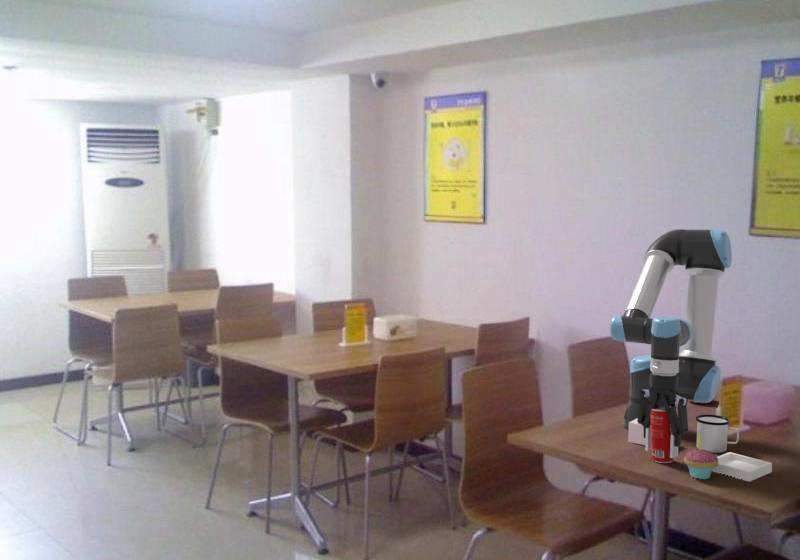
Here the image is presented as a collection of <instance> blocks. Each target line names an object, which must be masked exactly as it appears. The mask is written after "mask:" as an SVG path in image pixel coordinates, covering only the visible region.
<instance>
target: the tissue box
mask: <svg viewBox="0 0 800 560" xmlns="http://www.w3.org/2000/svg"><path fill="white" fill-rule="evenodd" d="M637 421H638V418H637V419H635V420H633V421H631V422H629V429H628V430H627V431H628V436H627V442H628V443H633V444H638V445H641V446H645V441H646V438H644V436H643V433H644V427H643V425H641V424H638V422H637ZM650 427H651V426H650Z"/></svg>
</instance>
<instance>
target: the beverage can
mask: <svg viewBox="0 0 800 560" xmlns="http://www.w3.org/2000/svg"><path fill="white" fill-rule="evenodd" d="M650 416H651V444H652V450H651V459H652V461H653V462H654V461H655V463H657V462H658V463H659V464H669V463H672V462H673V461H674V458H670V443H671V434H674V433H673V430H672V426H671V423H670V419H669V416H668V413H667V411H666V410H665V407H658V408H655V409H652V410H651V413H650Z"/></svg>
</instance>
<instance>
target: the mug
mask: <svg viewBox="0 0 800 560" xmlns="http://www.w3.org/2000/svg"><path fill="white" fill-rule="evenodd" d="M695 421H696V422H697V423H696V424H697V425H696V426H697V427H696V446H695V447H696V449H698V433H699V432H700V433H701V450H706V451H709V452H712V453H713V454H718V453H725V452H726V451H727V449H728V445H736V444H737V445H738V443H739V436H740V430H739V428H737V427H731V426H729V424H731V420H730V418H728V417H725V416H721V415H718V414H717V415H715V414H698V415H696V416H695ZM728 430H736V434H737V435H736V441H728V434H729V433H728Z"/></svg>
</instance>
